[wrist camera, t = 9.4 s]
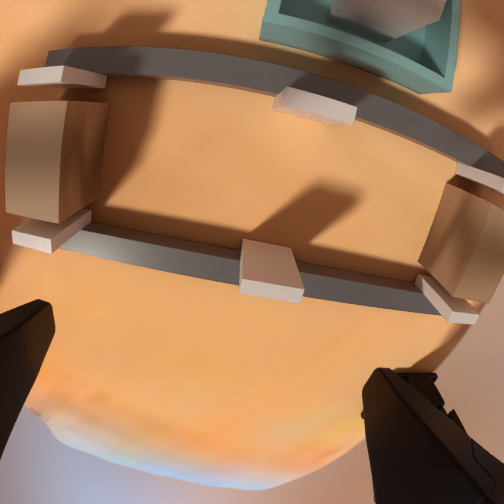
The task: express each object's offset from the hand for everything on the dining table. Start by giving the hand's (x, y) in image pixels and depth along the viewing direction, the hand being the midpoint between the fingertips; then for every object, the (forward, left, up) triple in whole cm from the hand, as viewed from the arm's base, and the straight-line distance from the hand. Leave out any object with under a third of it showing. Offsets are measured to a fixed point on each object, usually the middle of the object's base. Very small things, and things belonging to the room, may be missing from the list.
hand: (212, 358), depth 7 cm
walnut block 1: (+3, +11, -12) cm, 16 cm away
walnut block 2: (+3, -15, -12) cm, 20 cm away
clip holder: (+3, -2, -12) cm, 12 cm away
